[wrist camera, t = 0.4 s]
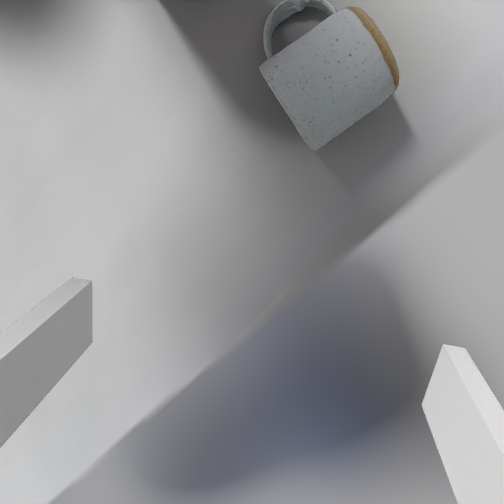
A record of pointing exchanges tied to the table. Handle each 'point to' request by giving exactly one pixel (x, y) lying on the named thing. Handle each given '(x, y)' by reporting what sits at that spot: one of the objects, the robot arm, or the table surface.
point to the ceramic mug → (329, 70)
